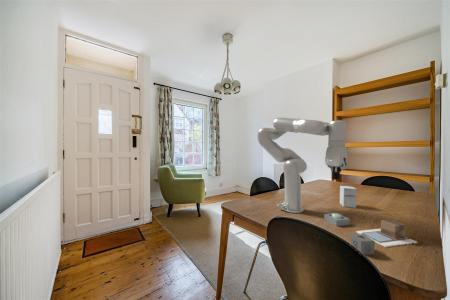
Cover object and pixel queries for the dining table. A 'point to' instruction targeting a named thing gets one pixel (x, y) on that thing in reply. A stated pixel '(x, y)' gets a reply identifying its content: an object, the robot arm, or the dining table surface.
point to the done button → (336, 215)
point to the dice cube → (363, 243)
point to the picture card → (385, 238)
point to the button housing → (337, 220)
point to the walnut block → (393, 229)
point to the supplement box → (348, 196)
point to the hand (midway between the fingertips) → (335, 179)
